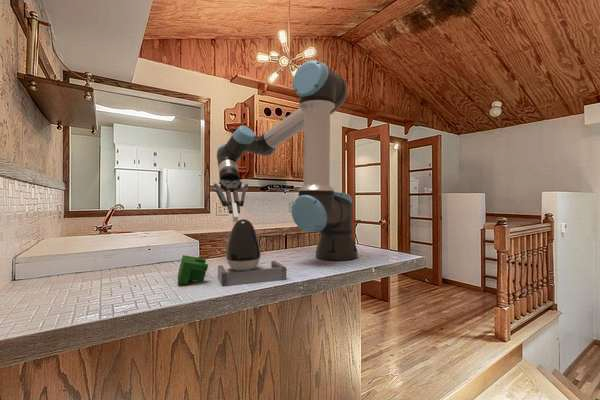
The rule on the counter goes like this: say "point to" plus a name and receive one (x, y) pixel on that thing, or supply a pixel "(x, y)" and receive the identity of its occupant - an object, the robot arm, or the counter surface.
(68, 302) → the counter surface
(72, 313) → the counter surface
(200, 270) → the green stepped block
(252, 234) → the dark rounded piece
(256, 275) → the bracket
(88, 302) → the counter surface
